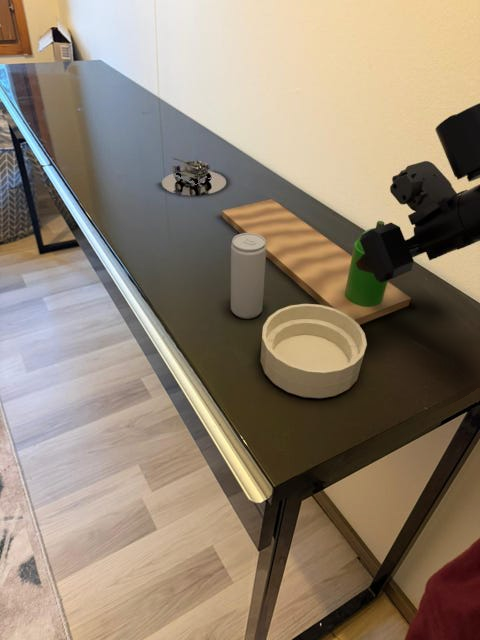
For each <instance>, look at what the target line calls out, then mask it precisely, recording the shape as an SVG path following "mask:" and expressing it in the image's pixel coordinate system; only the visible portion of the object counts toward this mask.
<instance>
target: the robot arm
mask: <svg viewBox="0 0 480 640" xmlns="http://www.w3.org/2000/svg"><path fill="white" fill-rule="evenodd" d="M435 133H436V135H437V137H438V140H439V142H440V145H441V147H442V150H443V152H444V153H445V156H446V159H447V162H448V164H449V166H450V168H451V172H452V173H453V175H454V178H456V179H457V180H458V181H459V180H461V179H463V178H465V177H466V179H467V181H468V183H470V182H473V181H475V180H478V179H480V102H479V103H476V104H474V105H472V106H470V107H468V108H466V109H464V110H462V111H460V112H458V113H456V114H452V115H449V116H448V117H447V118H445V119H444V120H443V121H441V122H440V123H439V124H438V125H437V126H436V127H435ZM391 181H392V183H391V185H390V187H389V191H390V193H391V195H392V196H393V197H394V199H396V201H397V202H398V203H399V204H400V205H404V206H405V205H407V206H408V208H409V209H410V210H411V211H413V212H412V213H410V214H408V215H407V217H408V220H409V222H410V224H411V226H414V227H413V236H411V237H409V238H407V239H405V236H404V234H403V231H402V229H401V226H400V225H397V224H395V223H393V222H388V223H384V225H383V226H380V227H377V228H376V227H373V228H374V229H372V228H370V229H371V230H369V229H368V230H369V231H368V232H366V233H364V232H363V233H364V234H362V233H361V234H360V236H361V238H360V242H361V245H362V247H363V250H364V252H365V253H364V254H363V255H362V256H361V257H360V258H359V259H358V261H357V262H356V266H357V268H358V270H361V271H364V272H368V273H372V274H374V276H375V278H376V280H377V281H379V282H381V283H382V282H384V281H387V280H388V281H390V280H392V279H394V278H397V277H399V276H402V275H404V274H407V273H408V272H411V271H412V269H413V266H414V263H415V260H414V258H415V257H418V256H421V255H423V254H425V253H426V256H427V259H428V260H429V262H430V261H432V260H434V259H437V258H440V257H442V256H444V255H447V254H449V253H451V252H455V251H456V250H458V251H459V250H461V249H464V248H466V247H469V246H471V245H474V244H477V243H478V242H480V183H479V184H478V185H475V186H473V187H471V188H469V189H464V190H461V191H459V192H457V191H456V190H455V189H454V187H453V185H452V183H451V182H450V180H449V179H448V178H447V177H446V176H445V175H444V174H443V172H441V170H440V169H439V168H438V167H437V165H436V164H434V163H433V162H431V161H430V160H424V161H421V162H416V163H413V164H410V165H407V166H406V167H405V169H403V170H400V172H399V173H398V174H396V175H394V176H392V177H391Z"/></svg>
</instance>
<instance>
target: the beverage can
mask: <svg viewBox="0 0 480 640" xmlns="http://www.w3.org/2000/svg"><path fill="white" fill-rule="evenodd" d="M266 258H267V257H266V241H265V239H264V238H263V237H262V236H261V235H258V234H254V233H242V234H240V233H239V234H236V235H234V237H232V240H231V245H230V310H231V312H232V314H234V315H235V316H236V317H238V318H240V319H246V320H250V319H254V318H256V317H258V316H259V315H260V314H261V313H262V312H263V306H264V290H265V276H266V262H267V261H266V260H267V259H266Z"/></svg>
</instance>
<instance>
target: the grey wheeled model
mask: <svg viewBox="0 0 480 640" xmlns="http://www.w3.org/2000/svg"><path fill="white" fill-rule="evenodd" d="M172 160H175V161H178V162H181V163H183V164H184V165H183V166H181V165H180V164H178V163H174V164H172V168H170V170H171V172H172V173H171V174H168V175H166V176H165V177H164V178H163V179H162V180H161V185H162V187H163V188H164V189H165V190H167V191H168V192H170V193H172V194H177V195H180V196H188V197H189V196H192V197H193V196H205V195H210V194H214V193H216V192H219V191H221V190H222V189H224V188H225V187H226V185H227V180H226V178H225V177H224V176H222V175H221V174H220V173H217V172H214V171H210V170H211V167H210V166H211V165H210V163H205V162H204V161H202V160H199V159H198V158H196V161H194V160H184V159H180V158H178V157H175V156H174V157H172ZM176 172H177V173H176ZM173 173H176V175H178V176H180V177H181V176H182V177H183V178H185V179H188V180H189V179H190V178H191V179H190V180H189V181H193V182H194V183H195V184H197V183H199V184H197V185H195V184H194V183H189V182H188V181H185V180H183V179H180V178H178V177H174V175H173ZM205 176H207V178H205ZM210 177H212V178H211V179H208V178H210ZM198 178H199V179H198ZM203 179H205V180H204V181H201V180H203ZM199 180H200V181H201V182H200V181H199ZM198 181H199V182H198Z"/></svg>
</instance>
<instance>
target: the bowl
mask: <svg viewBox="0 0 480 640" xmlns="http://www.w3.org/2000/svg"><path fill="white" fill-rule="evenodd" d="M367 346H368V343H367V338H366V333H365V332H364V330H363V328H362V327H361V326H360V325H359V324H358V323H357V322H356V321H354V320H353V319H352V318H351V317H350V316H348V315H347V314H345V313H343V312H341V311H339V310H336V309H334V308H331V307H327V306H323V305H321V304H318V303H317V304H315V303H313V304H312V303H300V304H292V305H288V306H286V307H282V308H280V309H278V310H276V311H274V312H273V313H272V314H271V315H270V316H268V317H267V319H266V321H265V322H264V323H263V326H262V334H261V346H260V347H261V349H260V364H261V367H262V370H263V372H264V374H265V375H266V377H267V378H268V379H269V380H270V382H272V384H274V385H275V386H277V387H278V388H280V389H282V390H283V391H285V392H287V393H289V394H292V395H294V396H298V397H301V398H311V399H324V398H330V397H336V396H338V395H340V394H342V393H344V392H346V391H348V390H350V388H351V387H352V386H353V385H354V384H355V383H356V382H357V381H358V378H359V375H360V372H361V368H362V365H363V361H364V357H365V353H366V350H367Z"/></svg>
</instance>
